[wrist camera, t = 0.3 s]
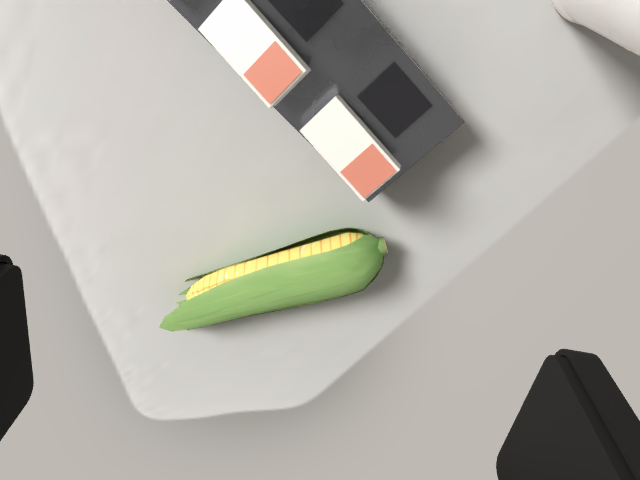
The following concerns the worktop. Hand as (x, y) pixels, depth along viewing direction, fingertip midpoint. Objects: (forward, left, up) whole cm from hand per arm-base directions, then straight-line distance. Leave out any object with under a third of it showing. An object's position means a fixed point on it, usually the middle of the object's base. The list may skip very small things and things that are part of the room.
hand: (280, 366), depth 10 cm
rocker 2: (+1, +4, -24) cm, 25 cm away
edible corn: (+14, +8, -30) cm, 34 cm away
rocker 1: (+1, -4, -24) cm, 25 cm away
